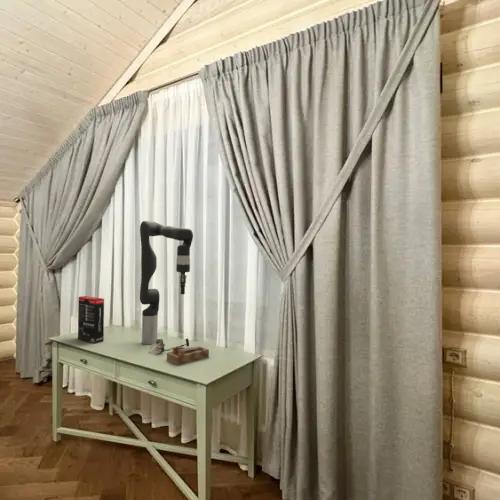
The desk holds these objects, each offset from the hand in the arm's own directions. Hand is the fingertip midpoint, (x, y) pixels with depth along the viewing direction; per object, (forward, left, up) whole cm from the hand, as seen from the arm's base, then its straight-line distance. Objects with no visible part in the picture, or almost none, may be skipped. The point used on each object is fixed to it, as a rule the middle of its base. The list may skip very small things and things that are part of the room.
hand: (182, 294), depth 190 cm
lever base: (+11, +4, -33) cm, 35 cm away
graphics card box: (-31, -57, -33) cm, 72 cm away
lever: (+11, +4, -28) cm, 30 cm away
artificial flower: (-3, -6, -34) cm, 34 cm away
